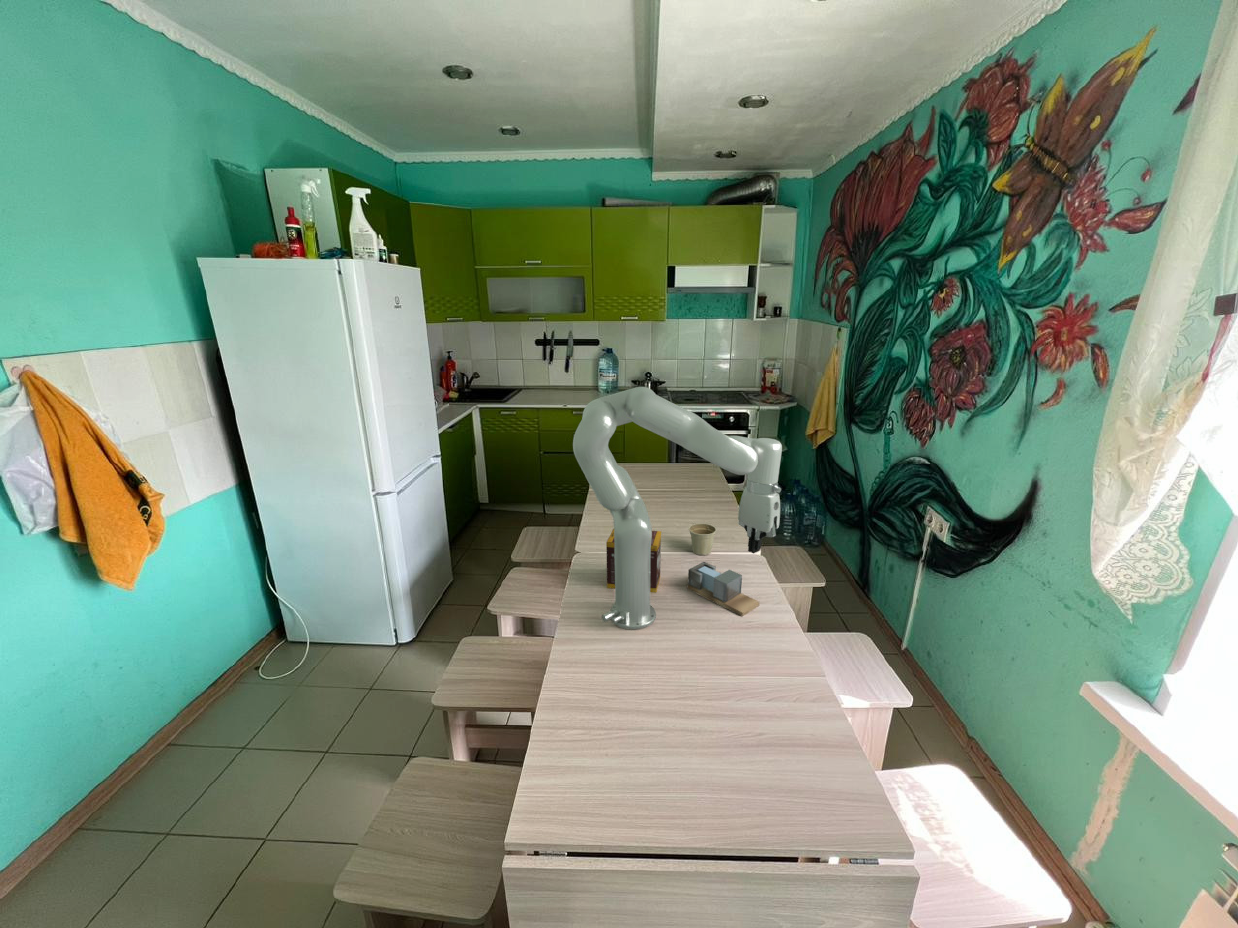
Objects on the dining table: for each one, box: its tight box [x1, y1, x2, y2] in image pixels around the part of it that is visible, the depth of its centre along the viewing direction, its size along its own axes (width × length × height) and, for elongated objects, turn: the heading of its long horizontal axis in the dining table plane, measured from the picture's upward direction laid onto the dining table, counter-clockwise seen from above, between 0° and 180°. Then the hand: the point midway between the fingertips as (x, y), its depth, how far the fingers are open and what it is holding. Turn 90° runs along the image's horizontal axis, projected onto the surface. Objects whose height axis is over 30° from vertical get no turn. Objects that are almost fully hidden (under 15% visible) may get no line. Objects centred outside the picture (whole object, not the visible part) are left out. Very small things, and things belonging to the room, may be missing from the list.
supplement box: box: [605, 527, 662, 594], centre depth 158 cm, size 10×15×16 cm
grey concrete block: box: [713, 569, 743, 602], centre depth 149 cm, size 4×7×6 cm, turn 132°
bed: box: [686, 561, 760, 617], centre depth 151 cm, size 20×8×6 cm, turn 42°
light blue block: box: [698, 566, 722, 592], centre depth 153 cm, size 10×3×5 cm, turn 42°
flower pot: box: [688, 522, 717, 556], centre depth 178 cm, size 9×9×9 cm
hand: (753, 550), depth 139 cm, fingers closed
